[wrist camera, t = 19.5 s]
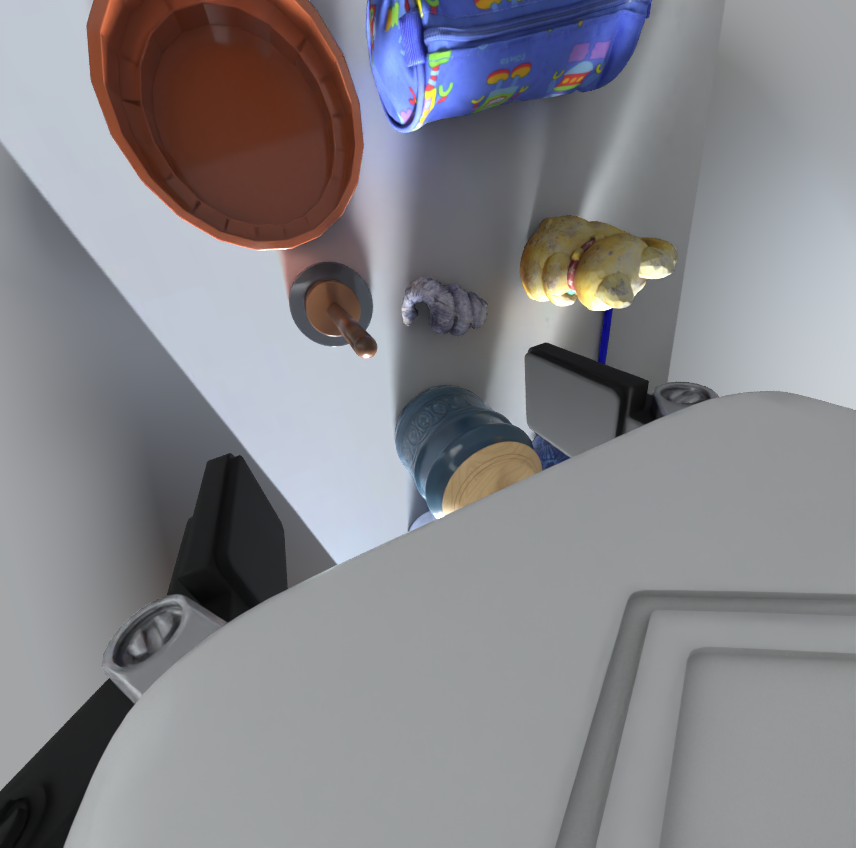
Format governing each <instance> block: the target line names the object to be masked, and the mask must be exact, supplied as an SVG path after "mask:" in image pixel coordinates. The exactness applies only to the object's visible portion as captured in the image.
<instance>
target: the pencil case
mask: <svg viewBox="0 0 856 848" xmlns="http://www.w3.org/2000/svg"><path fill="white" fill-rule="evenodd" d="M651 1H652V0H368V1H367V13H366V31H367V43H368V49H369V58H370V64H371V69H372V72H373V75H374V79H375V82H376V86H377V88H378V91H379V95H380V99H381V103H382V106H383V109H384V112H385V114H386V116H387V118H388V120H389V122H390V124H391V125H392V126H393V127H394V128H395V129H396V130H397V131H399V132H412V131H415V130H417V129H419V128H420V127H422V126H423V125H424V124H426V123H429V122H432V121H435V120H439V119H443V118H451V117H458V116H463V115H469V114H473V113H477V112H479V111H482V110H484V109H488V108H492V107H495V106H499V105H503V104H507V103H510V102H512V101H525V100H530V99H542V98H550V97H555V96H560V95H565V94H569V93H572V92H574V91H577V90H578V91H580V92H587V91H592V90H595V89H598V88H601V87H603V86H605V85H607V84H608V83H610V82H611V81H612V80H614V79H615V78H616V77H617V76H618V74H619V73H620V72H621V71H622V70H623V68H624V67H625V65H626V64H627V62H628V61H629V59H630V57H631V56H632V54H633V52H634V50H635V47H636V45H637V43H638V40H639V37H640V33H641V30H642V27H643V24H644V21H645V19H646V18H649V15H650V9H651Z"/></svg>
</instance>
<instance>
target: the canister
mask: <svg viewBox="0 0 856 848" xmlns="http://www.w3.org/2000/svg"><path fill="white" fill-rule="evenodd" d="M395 443H396V449H397V453H398V455H399V458H400V460H401V461H402V463H403V465H404V466H405V467H406V469H407V470H408V471H409V472H410V474H411V476H412V477H413V479H414V481H415V484H416V487H417V489H418V491H419V493H420V494H421V496H422V497H423V498H424V499H425V500H426V503H427V506H428V508H429V510H430V512H431V513H432V515H433V516H434V517H435V518H436V519H438V518H440V517H442V516H445V515H447V514H449V513H451V512H453V511H455V510H458V509H460V508H462V507H464V506H466V505H469V504H471V503H473V502H475V501H477V500H479V499H482V498H484V497H486V496H488V495H490V494H493V493H495V492H497V491H499V490H501V489H503V488H506V487H508V486H510V485H512V484H514V483H517V482H519V481H521V480H523V479H525V478H528V477H530V476H532V475H534V474H536V473H539V472H541V471H542V465H541V461H540V459H539V457H538V455H537V454H536V452H535V451H534V447H533V444H532V442H531V440H530V438H529V437H528V435H527V434H526V433H525V432H524V431H523V430H521V429H520V428H518V427H516V426H514V425H512V424H511V423H510V421H509V420H508V419H507V418H506V417H504V416H503V415H501V414H500V413H498V412H495V411H494V410H492V409H491V408H490V407H489V406H487V405H486V404H485V403H484V402H483V401H482V399H480V398H479V397H478V396H477V395H475V394H474V393H473V392H471V391H469V390H467V389H464V388H460V387H457V386H452V385H443V386H437V387H433V388H430V389H428V390H426V391H424V392H422V393H420V394H419V395H417V396H416V397H415V398H414V399H413V400H411V401H410V402H409V403H408V405H407V406H406V407H405V408H404V410H403V411H402V413H401V415H400V417H399V419H398V422H397V425H396V429H395Z"/></svg>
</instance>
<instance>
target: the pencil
mask: <svg viewBox="0 0 856 848" xmlns="http://www.w3.org/2000/svg"><path fill="white" fill-rule="evenodd" d="M612 311H613V308H610V309H608V310H605V313H604V321H603V329H602V336H601V344H600V352H599V360H598V362H600V363H603V364H605V362H606V355H607V347H608V340H609V333H610V326H611V318H612Z"/></svg>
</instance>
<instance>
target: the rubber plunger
mask: <svg viewBox="0 0 856 848" xmlns="http://www.w3.org/2000/svg"><path fill="white" fill-rule="evenodd" d="M304 306H305V311H306V314H307V317H308V319H309V321H310V323H311V324H312V325H313V327H314V328H315V329H316V330H318V331H319V332H321V333H322V334H325V335H328V336H335V337H336V336H342V335H343V336H344V337H345V338H346V340H347V341H348V343H349V344H350V345H351V347H352V348H353V350H354V351H355V352H356V354H357V355H358V356H360V357H361V358H365V359H367V358H371V357H373V356H374V355H375V353H376V351H377V343H376V341H375V340H374V339H373V338H372V337H371V336H370V335H369V334H368V333H367V332H366V331H365V330H364V329H363V328H362V327H361V326H360V325H359V324H358V321H359V318H360V312H361V309H360V303H359V300H358V298H357V296H356V294H355V293H354V292H353V290H352V289H351V288H349V287H348V286H347V285H345V284H343V283H342V282H340V281H337V280H333V279H325V280H321V281H318V282H316V283H315V284H313V285H312V286H311V287H310V289H309V290H308V292H307V294H306V296H305V302H304Z"/></svg>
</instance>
